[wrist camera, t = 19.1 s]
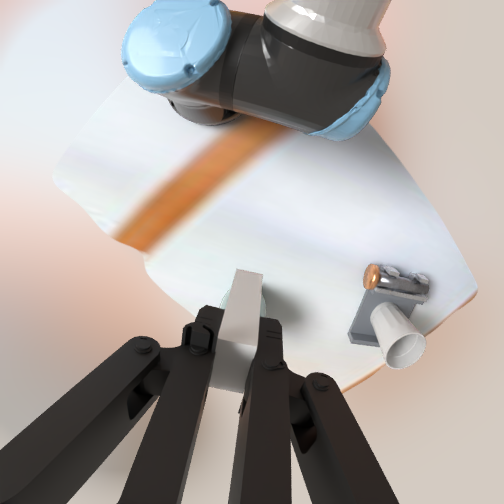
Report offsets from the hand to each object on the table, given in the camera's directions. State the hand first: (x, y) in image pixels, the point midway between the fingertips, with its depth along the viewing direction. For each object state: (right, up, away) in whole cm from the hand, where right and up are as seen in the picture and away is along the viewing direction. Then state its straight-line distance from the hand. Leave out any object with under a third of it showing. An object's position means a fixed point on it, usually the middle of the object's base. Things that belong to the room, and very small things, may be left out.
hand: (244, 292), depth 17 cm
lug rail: (+29, -2, +33) cm, 44 cm away
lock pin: (+27, -3, +32) cm, 42 cm away
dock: (+27, -10, +36) cm, 46 cm away
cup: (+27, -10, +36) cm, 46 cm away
